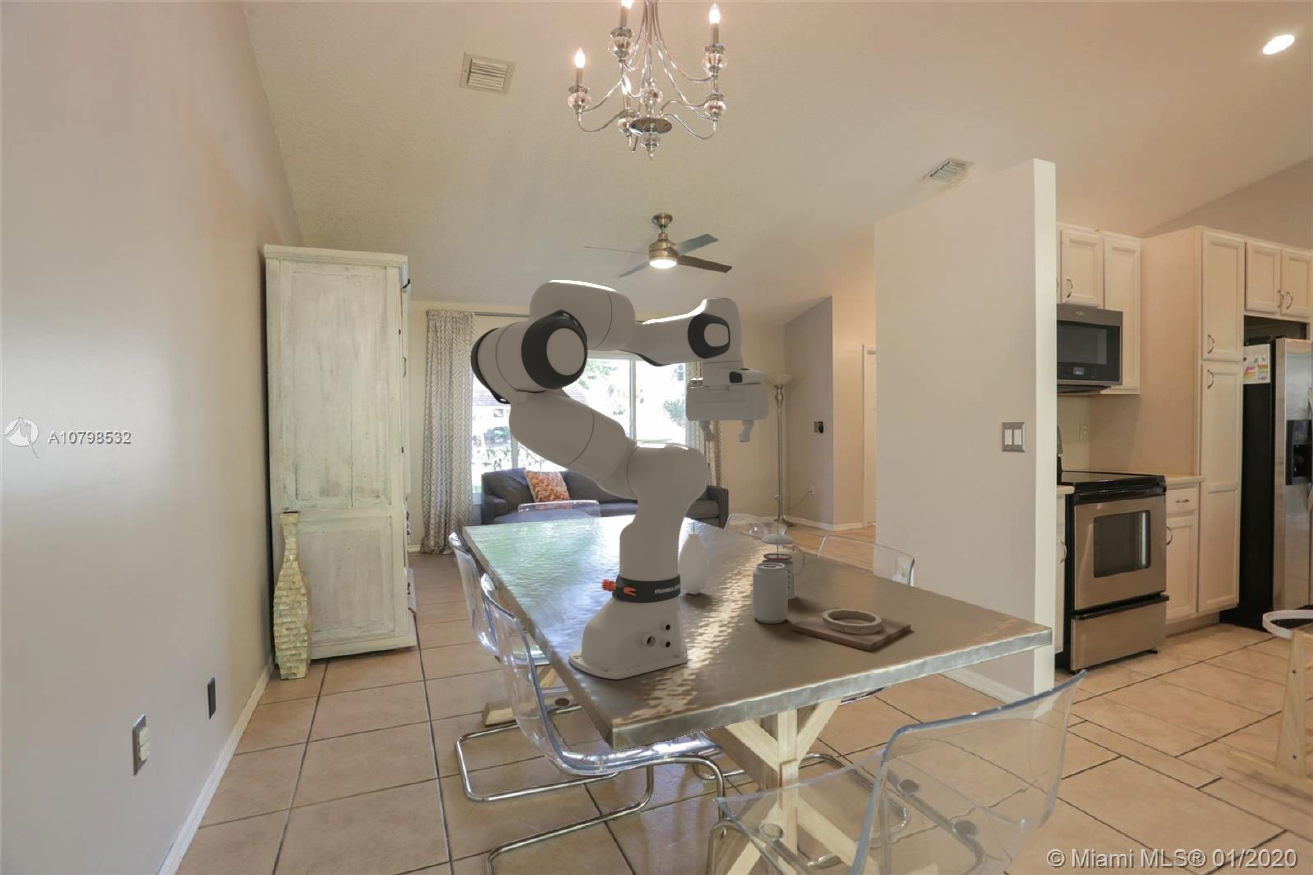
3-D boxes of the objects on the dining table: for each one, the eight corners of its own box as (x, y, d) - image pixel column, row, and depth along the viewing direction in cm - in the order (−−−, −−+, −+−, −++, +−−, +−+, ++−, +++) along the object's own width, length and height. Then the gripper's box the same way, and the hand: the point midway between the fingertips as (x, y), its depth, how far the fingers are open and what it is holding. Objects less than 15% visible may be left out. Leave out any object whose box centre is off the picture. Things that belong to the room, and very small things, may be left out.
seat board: (869, 651, 116) (870, 637, 116) (791, 630, 128) (792, 617, 128) (910, 629, 129) (910, 616, 129) (836, 612, 141) (836, 600, 141)
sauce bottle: (676, 589, 161) (676, 520, 160) (705, 589, 161) (706, 519, 161) (680, 598, 153) (680, 524, 153) (711, 597, 154) (712, 524, 153)
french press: (757, 588, 162) (757, 492, 162) (802, 590, 160) (803, 493, 160) (758, 598, 152) (758, 496, 152) (806, 600, 151) (807, 497, 150)
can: (785, 614, 139) (786, 561, 139) (789, 625, 132) (789, 568, 132) (751, 613, 140) (752, 560, 140) (753, 624, 132) (754, 568, 132)
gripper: (677, 379, 137) (681, 442, 138) (752, 374, 122) (756, 444, 123) (696, 378, 141) (700, 439, 142) (771, 373, 126) (775, 440, 128)
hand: (727, 441), depth 133 cm, fingers open, 8 cm apart
